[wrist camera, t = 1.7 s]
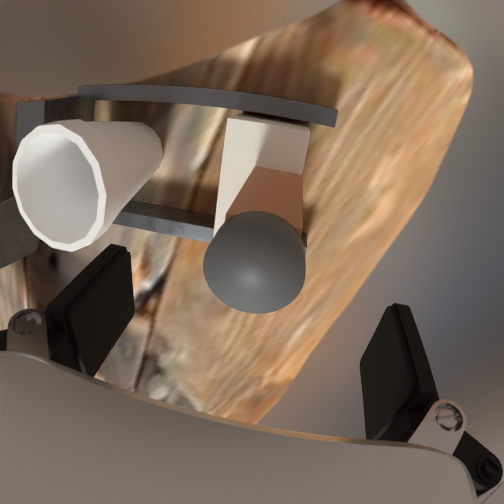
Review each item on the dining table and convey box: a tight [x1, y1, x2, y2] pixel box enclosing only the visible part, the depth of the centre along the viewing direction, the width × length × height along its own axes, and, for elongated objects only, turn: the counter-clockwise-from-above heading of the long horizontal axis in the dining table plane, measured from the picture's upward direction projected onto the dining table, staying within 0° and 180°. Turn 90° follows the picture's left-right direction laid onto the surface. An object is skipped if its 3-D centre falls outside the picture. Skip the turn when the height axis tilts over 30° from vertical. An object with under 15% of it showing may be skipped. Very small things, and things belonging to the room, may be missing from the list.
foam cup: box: [12, 119, 163, 252], centre depth 24 cm, size 10×9×13 cm
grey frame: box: [17, 84, 338, 254], centre depth 26 cm, size 14×28×8 cm, turn 81°
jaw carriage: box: [203, 114, 311, 314], centre depth 22 cm, size 10×6×18 cm, turn 171°
